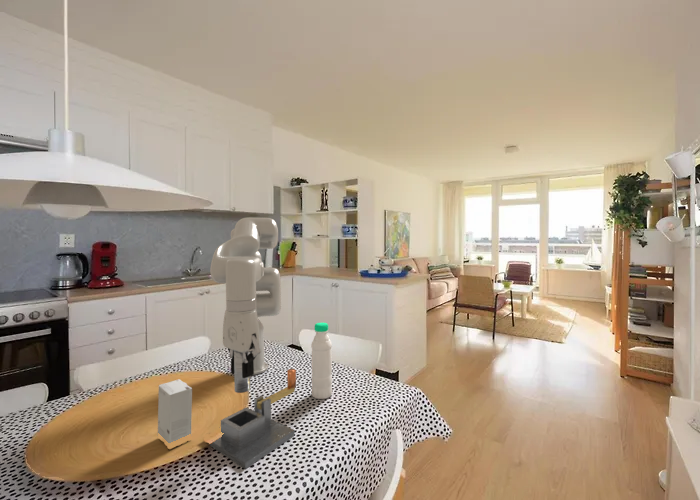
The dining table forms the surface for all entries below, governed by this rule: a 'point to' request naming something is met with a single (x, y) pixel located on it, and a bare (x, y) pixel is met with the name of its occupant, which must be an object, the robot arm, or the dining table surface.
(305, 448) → the dining table surface
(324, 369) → the water bottle
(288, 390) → the lock pin
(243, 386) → the grey cylinder
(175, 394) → the skincare box
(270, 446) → the dock
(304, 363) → the dining table surface
